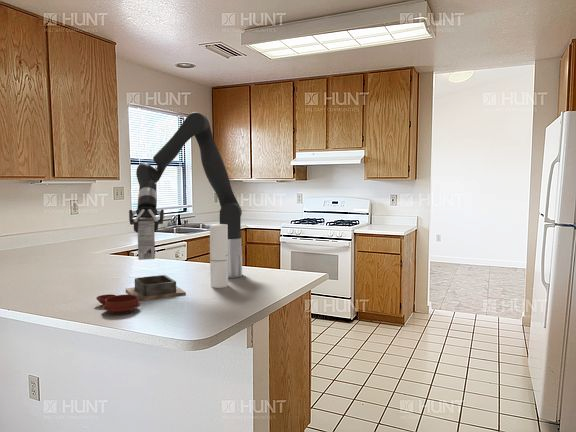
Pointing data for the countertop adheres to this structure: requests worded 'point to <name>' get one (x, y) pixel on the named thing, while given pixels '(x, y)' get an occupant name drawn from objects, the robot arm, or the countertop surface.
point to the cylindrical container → (219, 255)
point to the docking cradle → (155, 288)
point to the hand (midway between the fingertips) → (145, 231)
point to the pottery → (119, 303)
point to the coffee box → (146, 238)
